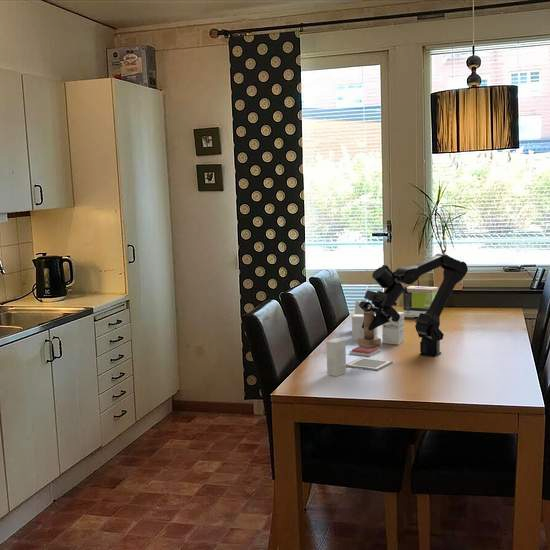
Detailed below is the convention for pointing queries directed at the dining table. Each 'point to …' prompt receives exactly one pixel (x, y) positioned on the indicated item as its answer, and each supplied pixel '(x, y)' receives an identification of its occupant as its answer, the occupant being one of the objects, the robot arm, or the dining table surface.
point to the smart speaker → (358, 308)
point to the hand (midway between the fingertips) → (365, 329)
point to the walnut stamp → (369, 333)
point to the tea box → (418, 300)
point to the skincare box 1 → (336, 357)
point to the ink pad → (365, 351)
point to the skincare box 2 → (359, 327)
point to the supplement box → (394, 331)
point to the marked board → (369, 364)
